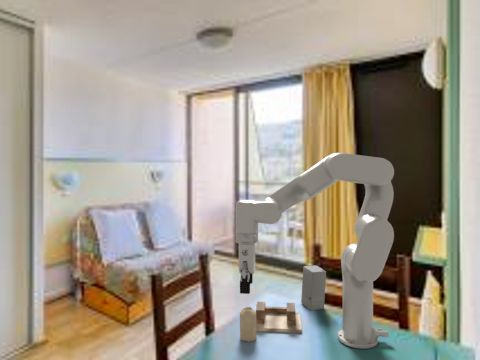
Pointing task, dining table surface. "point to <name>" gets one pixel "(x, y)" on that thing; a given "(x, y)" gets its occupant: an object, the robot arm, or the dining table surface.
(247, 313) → the candle
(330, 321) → the dining table surface
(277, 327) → the holder
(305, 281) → the skincare box
